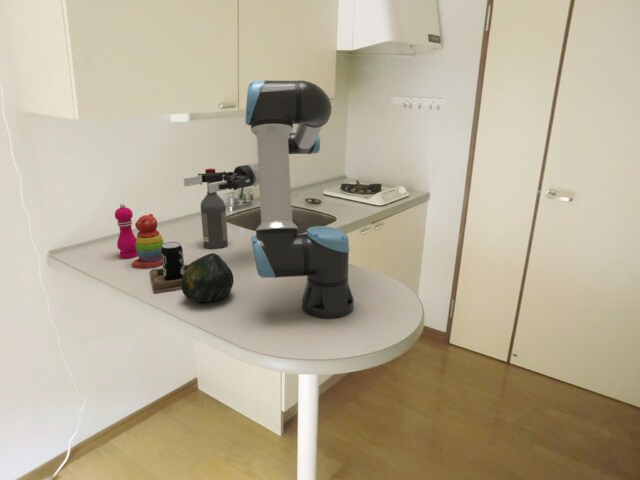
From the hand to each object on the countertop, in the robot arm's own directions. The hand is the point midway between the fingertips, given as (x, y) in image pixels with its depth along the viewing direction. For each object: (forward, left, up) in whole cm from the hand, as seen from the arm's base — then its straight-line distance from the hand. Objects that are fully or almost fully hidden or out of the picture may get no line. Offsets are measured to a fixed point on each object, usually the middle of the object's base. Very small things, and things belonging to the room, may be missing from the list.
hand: (196, 185), depth 155 cm
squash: (-20, +2, -31) cm, 36 cm away
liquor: (+27, -9, -31) cm, 42 cm away
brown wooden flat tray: (-2, +9, -30) cm, 32 cm away
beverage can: (-4, +10, -30) cm, 31 cm away
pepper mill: (+27, +23, -31) cm, 47 cm away
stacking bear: (+16, +16, -31) cm, 38 cm away
